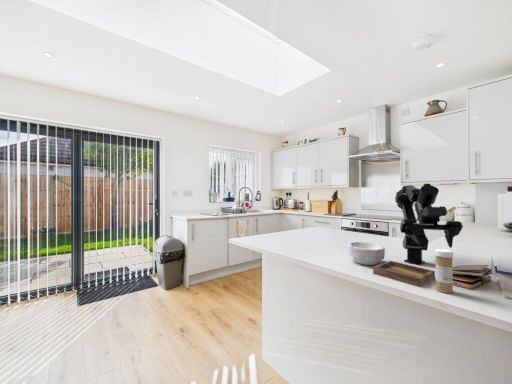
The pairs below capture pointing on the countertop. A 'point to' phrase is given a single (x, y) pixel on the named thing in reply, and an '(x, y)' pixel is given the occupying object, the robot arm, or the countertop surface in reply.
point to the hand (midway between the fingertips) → (435, 246)
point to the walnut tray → (404, 273)
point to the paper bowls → (366, 252)
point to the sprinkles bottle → (444, 270)
